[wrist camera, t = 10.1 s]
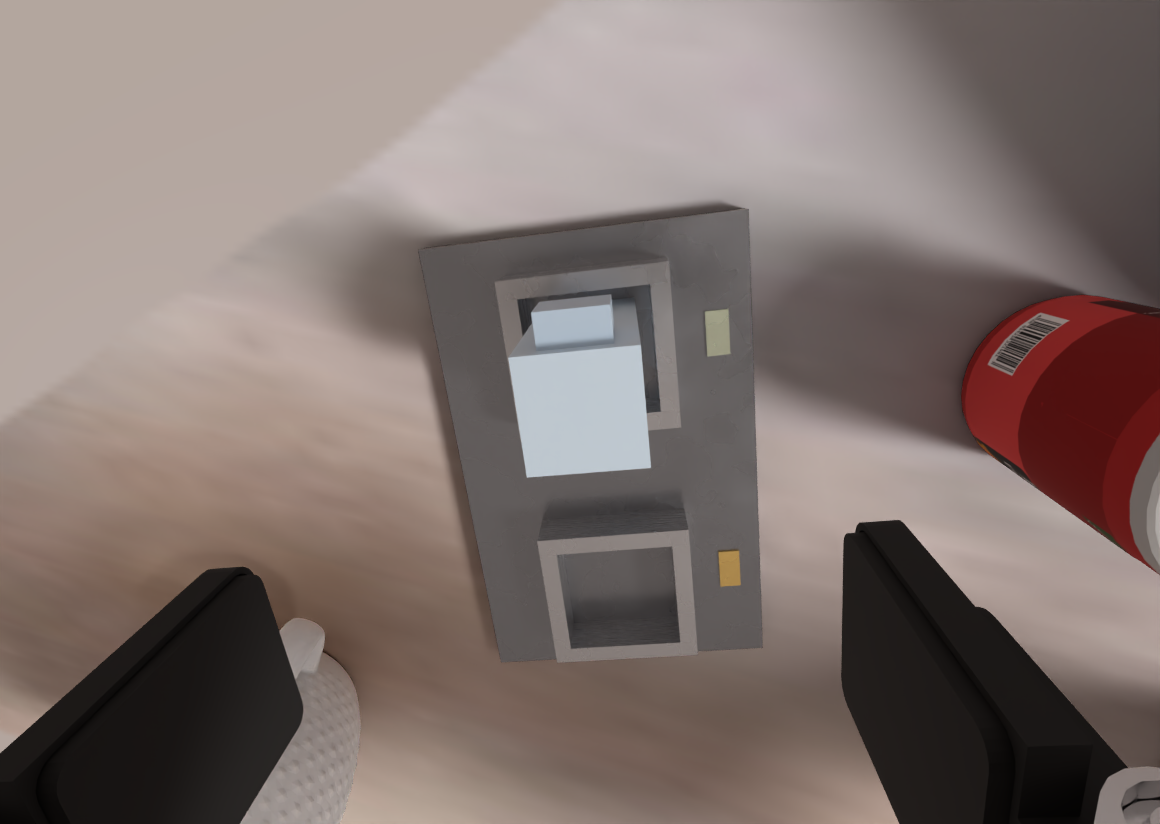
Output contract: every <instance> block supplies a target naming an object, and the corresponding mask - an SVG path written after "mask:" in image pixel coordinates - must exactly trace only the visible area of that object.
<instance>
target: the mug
mask: <svg viewBox="0 0 1160 824" xmlns="http://www.w3.org/2000/svg"><path fill="white" fill-rule="evenodd" d="M279 632H280V635H281V638H282V641H283V644H284V647H285V650H286V653H287V656H288V659H289V662H290V665H291V668H292V671H293V674H294V677H295V680H296V683H297V686H298V689H299V692H300V695H301V698H302V702H303V718H302V721H301V724H300V726H299V728H298V730H297V732H296V733H295V735H294V736H293V738H292V740H291V741H290V743H289V745H288V746H287V748H286V749H285V751H284V753H283V754H282V756H281V758H280V759H279V761H278V762H277V764H276V766H275V767H274V769H273V771H272V772H271V774H270V776H269V777H268V779H267V780H266V782H265V784H264V785H263V787H262V789H261V790H260V792H259V793H258V795H257V797H256V798H255V800H254V802H253V803H252V805H251V806H250V808H249V810H248V811H247V813H246V815H245V816H244V818H243V819H242V821H241V823H240V824H340V822H341V820H342V818H343V813H344V812H345V809H346V803H347V801H348V797H349V794H350V792H351V787H352V784H353V776H354V772H355V769H356V767H357V754H358V750H359V745H360V740H359V737H360V730H361V724H360V712H359V703H358V698H357V693H356V690H355V686H354V684H353V682H352V680H351V678H350V677H349V675H348V674H347V672H346V671H345V670H344V668H343V667H342V666H341V665H340V664H339V663H338V662H337V661H336V660H334V659H333V658H332V657H330V656H329V655H327V654H325V653H323V652H322V651H323V648H324V642H325V632H324V630H323V629H322V627H321V626H319V625H318V624H316V623H315V622H313V621H311V620H308V619H304V618H293V619H292V620H290V621H288V622H287V623H286V624H285V625H284V626H283V627H282V629H281V630H280V631H279Z"/></svg>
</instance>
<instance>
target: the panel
mask: <svg viewBox="0 0 1160 824" xmlns="http://www.w3.org/2000/svg"><path fill="white" fill-rule="evenodd" d="M418 251H419V256H420V261H421V266H422V271H423V276H424V281H425V286H426V291H427V296H428V301H429V306H430V311H431V316H432V321H433V326H434V331H435V336H436V341H437V346H438V351H439V356H440V361H441V366H442V371H443V376H444V381H445V386H446V390H447V395H448V400H449V405H450V410H451V415H452V420H453V425H454V430H455V435H456V440H457V445H458V450H459V455H460V460H461V465H462V470H463V475H464V480H465V485H466V490H467V495H468V500H469V505H470V510H471V515H472V520H473V525H474V530H475V535H476V540H477V545H478V550H479V555H480V560H481V565H482V570H483V575H484V580H485V585H486V590H487V595H488V599H489V604H490V609H491V614H492V619H493V624H494V629H495V634H496V639H497V644H498V649H499V654H500V659H501V662H516V661H534V660H552V659H557V663H562V662H580V661H598V660H616V659H634V658H652V657H670V656H688V655H698V651H712V650H730V649H748V648H763V647H762V615H761V584H760V553H759V521H758V490H757V459H756V427H755V396H754V365H753V333H752V302H751V271H750V240H749V209H745V208H743V209H735V210H727V211H719V212H711V213H703V214H695V215H687V216H679V217H671V218H663V219H655V220H647V221H639V222H631V223H623V224H615V225H607V226H599V227H591V228H583V229H575V230H567V231H559V232H551V233H543V234H535V235H527V236H519V237H511V238H502V239H494V240H486V241H478V242H470V243H462V244H454V245H446V246H438V247H430V248H424V249H420V250H418ZM609 294H611V298H612V300H613V299H623V298H632V297H634V299H635V306H636V313H637V321H638V328H639V335H640V342H641V353H642V365H643V377H644V389H645V401H646V413H647V425H648V437H649V449H650V461H651V468H644V469H631V470H618V471H605V472H593V473H580V474H567V475H554V476H541V477H528V478H527V475H526V469H525V463H524V456H523V450H522V443H521V437H520V430H519V424H518V417H517V411H516V405H515V398H514V392H513V385H512V379H511V372H510V366H509V360H508V357H509V356H510V354H511V353H512V351H513V350H514V349H515V347H516V346H517V344H518V343H519V341H520V340H521V338H522V337H523V335H524V334H525V333H526V331H527V330H528V328H529V327H530V325H531V324H532V316H531V312H532V311H533V309H534V308H535V307H536V305H537V304H538V303H539V302H542V301H551V300H561V299H570V298H580V297H589V296H599V295H609Z"/></svg>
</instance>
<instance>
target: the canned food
mask: <svg viewBox="0 0 1160 824" xmlns="http://www.w3.org/2000/svg"><path fill="white" fill-rule="evenodd" d="M961 399H962V410H963V413H964V416H965V419H966V422H967V425H968V427H969V429H970V431H971V433H972V434H973V436H974V437H975V439H976V441H977V442H978V444H979V445H980V446H981V447H982V448H983V449H984V450H985V451H986V452H987V453H988V454H989V455H991V456H992V457H993V458H995V459H996V460H998V461H999V462H1000V463H1002V464H1003V465H1005V466H1006V467H1007V468H1009V469H1010V470H1012V471H1013V472H1014V473H1016V474H1017V475H1019V476H1020V477H1021V478H1023V479H1024V480H1026V481H1027V482H1028V483H1030V484H1031V485H1033V486H1034V487H1036V488H1037V489H1038V490H1040V491H1041V492H1043V493H1044V494H1045V495H1047V496H1048V497H1050V498H1051V499H1052V500H1054V501H1055V502H1057V503H1058V504H1059V505H1061V506H1062V507H1064V508H1065V509H1066V510H1068V511H1069V512H1071V513H1072V514H1073V515H1075V516H1076V517H1078V518H1079V519H1080V520H1082V521H1083V522H1085V523H1086V524H1087V525H1089V526H1090V527H1092V528H1093V529H1094V530H1096V531H1097V532H1099V533H1100V534H1101V535H1103V536H1104V537H1106V538H1107V539H1108V540H1110V541H1111V542H1113V543H1114V544H1115V545H1117V546H1118V547H1120V548H1121V549H1123V550H1124V551H1125V552H1127V553H1128V554H1130V555H1131V556H1132V557H1134V558H1136V559H1138V560H1139V561H1141V562H1142V563H1144V564H1145V565H1146V566H1148V567H1149V568H1151V569H1152V570H1154V571H1155V572H1156V573H1158V574H1159V575H1160V309H1158V308H1153V307H1149V306H1144V305H1139V304H1134V303H1129V302H1124V301H1119V300H1114V299H1109V298H1105V297H1098V296H1089V295H1076V296H1065V297H1059V298H1054V299H1050V300H1046V301H1043V302H1039V303H1035V304H1033V305H1030V306H1028V307H1026V308H1024V309H1022V310H1020V311H1018V312H1016V313H1014V314H1013V315H1011V316H1010V317H1008V318H1007V319H1005V320H1004V321H1002V322H1001V323H1000V324H999V325H998V326H997V327H996V328H995V329H994V330H992V331H991V332H990V333H989V334H988V335H987V336H986V338H985V339H984V340H983V342H982V343H981V344H980V345H979V347H978V348H977V349H976V351H975V353H974V355H973V357H972V359H971V360H970V362H969V364H968V367H967V370H966V373H965V376H964V379H963V385H962V393H961Z"/></svg>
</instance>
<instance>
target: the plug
mask: <svg viewBox="0 0 1160 824" xmlns="http://www.w3.org/2000/svg"><path fill="white" fill-rule="evenodd" d="M531 316H532V324H531V325H530V327H529V328H528V330H527V331H526V333H525V334H524V335H523V337H522V338H521V340H520V341H519V343H518V344H517V346H516V347H515V349H514V350H513V351H512V353H511V354H510V356H509V357H508V360H509V366H510V372H511V379H512V385H513V392H514V398H515V405H516V411H517V417H518V424H519V430H520V437H521V443H522V450H523V456H524V463H525V469H526V475H527V478H528V477H541V476H554V475H567V474H580V473H593V472H605V471H618V470H631V469H644V468H651V461H650V449H649V437H648V425H647V413H646V401H645V389H644V377H643V365H642V353H641V342H640V335H639V328H638V321H637V313H636V306H635V299H634V297H632V298H623V299H613V300H612V298H611V294H609V295H599V296H589V297H580V298H570V299H561V300H551V301H542V302H539V303H538V304H537V305H536V307H535V308H534V309H533V311H532V312H531Z"/></svg>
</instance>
